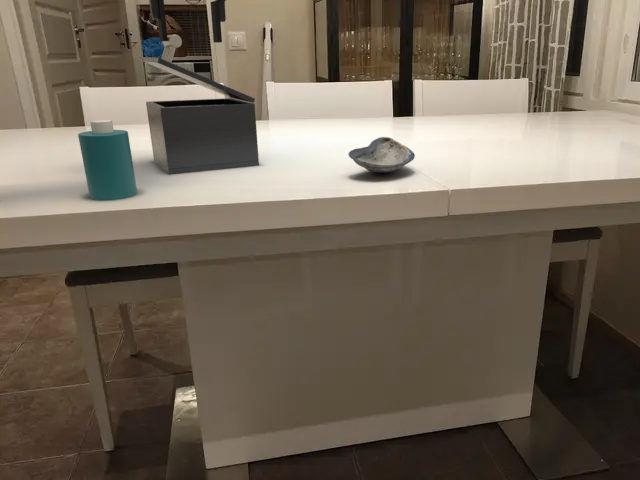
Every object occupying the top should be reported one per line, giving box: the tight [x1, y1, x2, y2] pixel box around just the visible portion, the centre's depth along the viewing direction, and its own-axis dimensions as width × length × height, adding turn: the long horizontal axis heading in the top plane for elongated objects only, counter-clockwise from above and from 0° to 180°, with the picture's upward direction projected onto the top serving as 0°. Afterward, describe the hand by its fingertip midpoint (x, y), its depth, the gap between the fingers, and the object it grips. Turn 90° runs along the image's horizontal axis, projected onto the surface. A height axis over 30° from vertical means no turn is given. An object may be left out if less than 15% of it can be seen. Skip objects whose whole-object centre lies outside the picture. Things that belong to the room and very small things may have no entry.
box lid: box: [142, 34, 256, 104], centre depth 98 cm, size 17×14×6 cm
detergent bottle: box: [77, 119, 138, 202], centre depth 79 cm, size 6×6×11 cm
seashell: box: [348, 136, 416, 174], centre depth 95 cm, size 15×12×5 cm
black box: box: [145, 97, 260, 176], centre depth 102 cm, size 16×14×11 cm
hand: (191, 41), depth 96 cm, fingers open, 8 cm apart
